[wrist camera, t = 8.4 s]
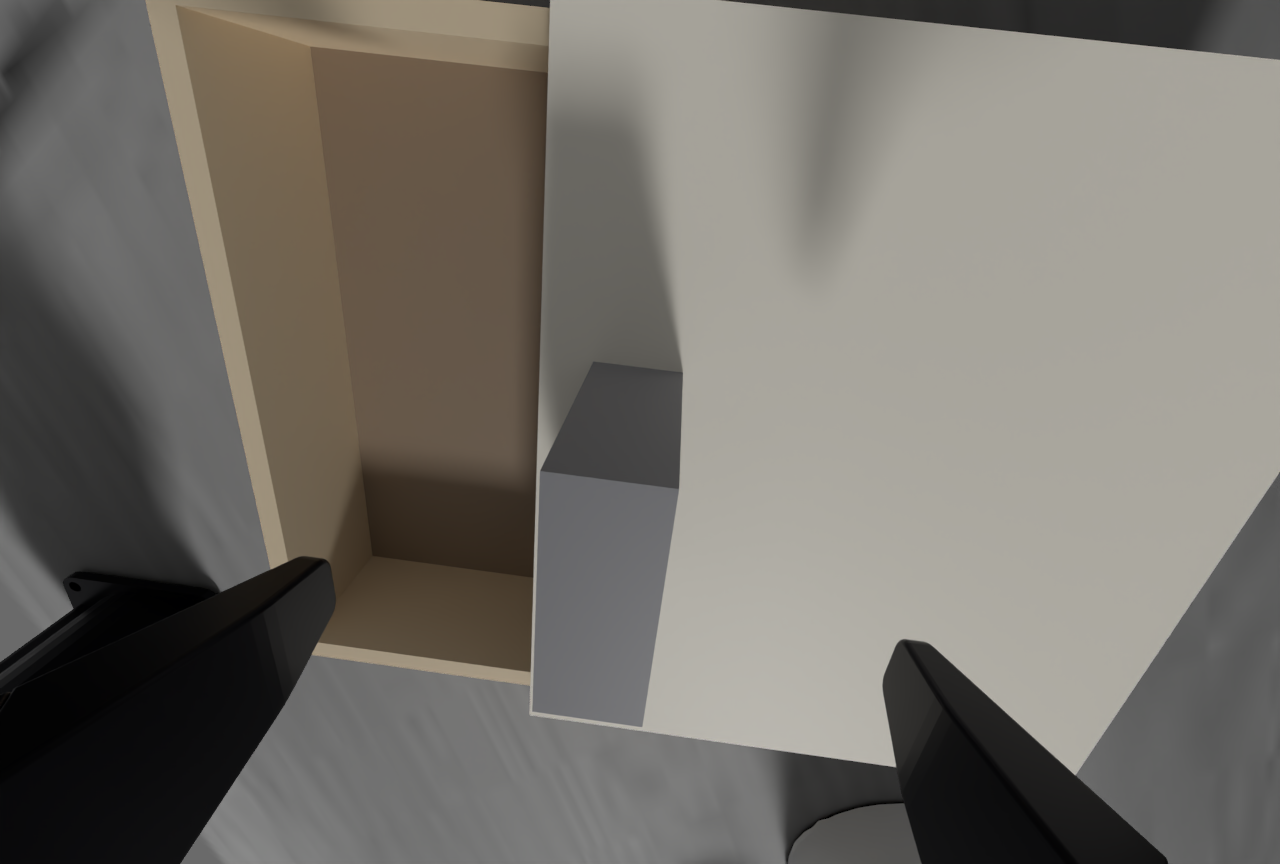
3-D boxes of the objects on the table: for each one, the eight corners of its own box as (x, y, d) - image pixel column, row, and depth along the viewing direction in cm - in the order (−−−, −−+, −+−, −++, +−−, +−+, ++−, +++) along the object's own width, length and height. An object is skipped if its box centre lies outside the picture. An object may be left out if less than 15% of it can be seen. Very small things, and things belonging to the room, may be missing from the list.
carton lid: (534, 698, 18) (474, 902, 13) (557, -9, 10) (433, -173, 5) (1053, 772, 18) (1196, 1012, 13) (1492, 92, 10) (2326, 17, 5)
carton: (366, 556, 23) (288, 651, 19) (298, 21, 15) (137, -37, 11) (760, 610, 23) (777, 720, 18) (892, 86, 15) (980, 54, 11)
